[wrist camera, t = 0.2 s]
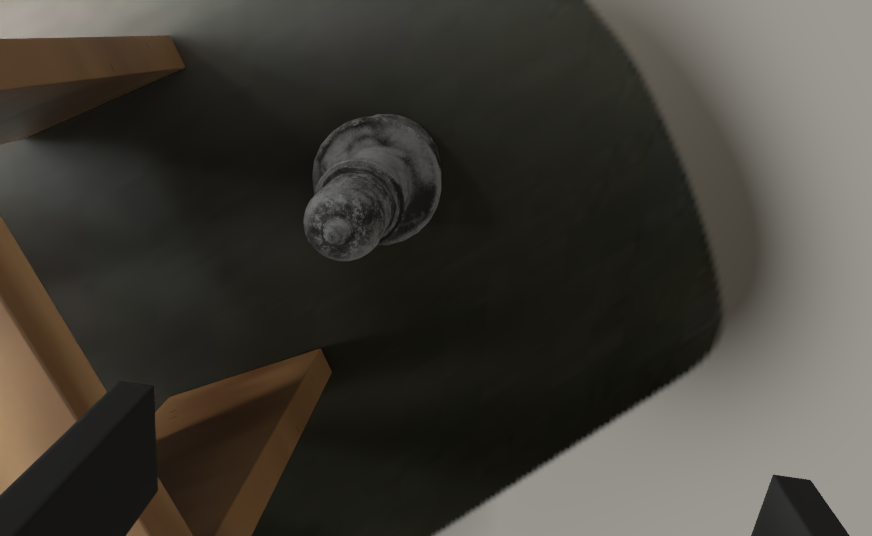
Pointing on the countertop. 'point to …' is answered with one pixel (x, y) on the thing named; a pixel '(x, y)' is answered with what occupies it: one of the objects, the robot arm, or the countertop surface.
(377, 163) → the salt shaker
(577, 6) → the countertop surface
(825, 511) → the robot arm
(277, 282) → the countertop surface
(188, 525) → the desk
